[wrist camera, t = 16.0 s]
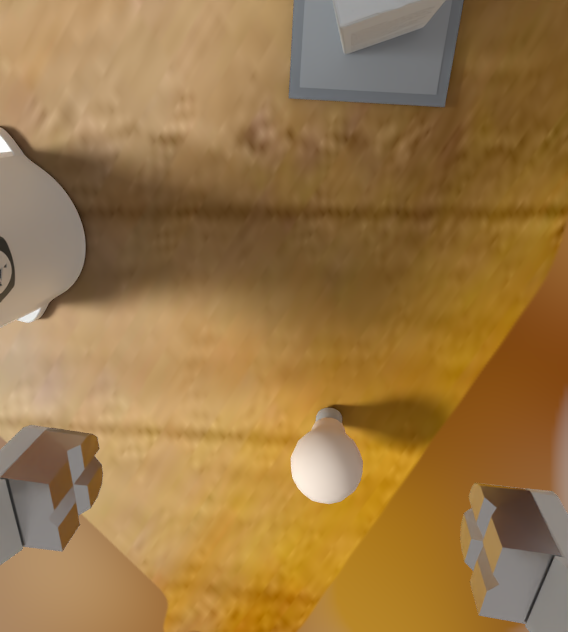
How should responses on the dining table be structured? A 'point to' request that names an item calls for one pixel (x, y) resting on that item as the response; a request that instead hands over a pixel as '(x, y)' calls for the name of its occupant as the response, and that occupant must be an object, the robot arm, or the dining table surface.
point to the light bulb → (326, 460)
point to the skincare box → (380, 20)
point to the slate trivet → (372, 60)
